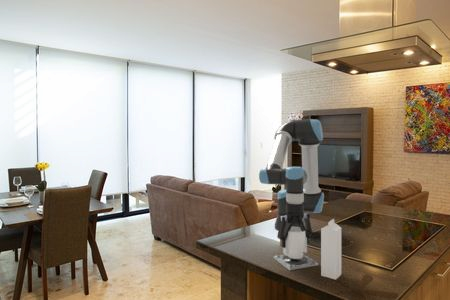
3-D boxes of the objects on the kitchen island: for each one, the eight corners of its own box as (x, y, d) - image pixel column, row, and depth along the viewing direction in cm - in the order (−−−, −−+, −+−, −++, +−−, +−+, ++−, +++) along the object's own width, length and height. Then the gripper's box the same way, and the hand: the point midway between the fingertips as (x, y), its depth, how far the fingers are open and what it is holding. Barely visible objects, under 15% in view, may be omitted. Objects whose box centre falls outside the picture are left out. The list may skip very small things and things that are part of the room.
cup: (290, 261, 136) (290, 233, 136) (281, 253, 145) (281, 227, 144) (309, 258, 139) (309, 231, 138) (299, 251, 147) (299, 225, 147)
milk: (341, 274, 128) (342, 220, 127) (335, 280, 123) (336, 223, 122) (326, 270, 132) (327, 217, 131) (320, 275, 127) (320, 220, 126)
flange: (300, 254, 151) (300, 250, 151) (318, 265, 137) (318, 261, 137) (273, 258, 146) (273, 255, 146) (289, 270, 133) (289, 266, 133)
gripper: (311, 198, 148) (311, 247, 149) (268, 202, 141) (269, 253, 142) (321, 201, 141) (321, 252, 142) (276, 206, 134) (277, 259, 135)
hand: (295, 252), depth 142 cm, fingers closed on cup, 9 cm apart
